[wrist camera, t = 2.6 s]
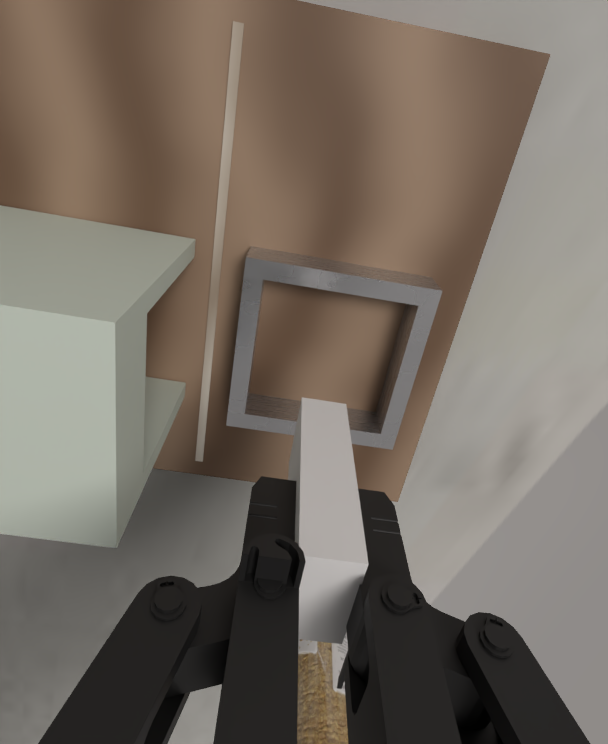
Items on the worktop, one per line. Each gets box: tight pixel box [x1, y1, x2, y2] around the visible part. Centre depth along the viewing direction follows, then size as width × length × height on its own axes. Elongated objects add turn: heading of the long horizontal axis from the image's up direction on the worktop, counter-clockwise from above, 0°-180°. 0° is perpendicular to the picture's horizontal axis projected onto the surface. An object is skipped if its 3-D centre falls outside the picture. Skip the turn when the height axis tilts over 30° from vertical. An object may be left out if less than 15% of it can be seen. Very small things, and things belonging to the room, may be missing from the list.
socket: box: [226, 246, 442, 450], centre depth 22 cm, size 8×8×2 cm
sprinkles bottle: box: [297, 631, 348, 744], centre depth 27 cm, size 5×5×13 cm
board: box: [0, 0, 550, 502], centre depth 20 cm, size 31×22×8 cm
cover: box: [0, 205, 196, 548], centre depth 18 cm, size 9×8×10 cm
